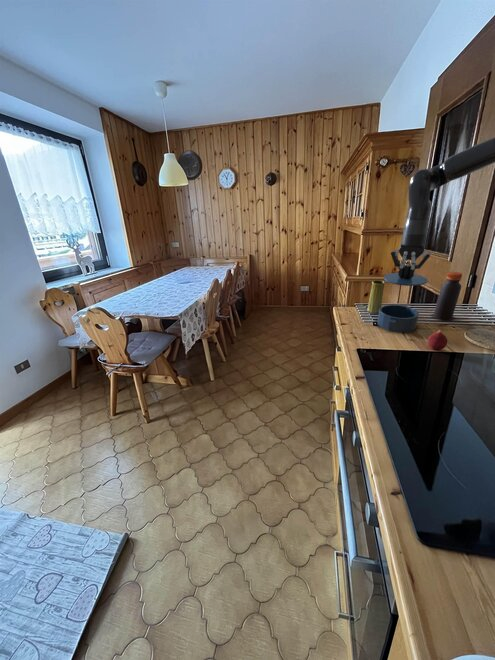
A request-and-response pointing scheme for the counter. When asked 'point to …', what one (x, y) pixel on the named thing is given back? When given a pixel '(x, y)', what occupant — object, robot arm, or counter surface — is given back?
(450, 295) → the bottle
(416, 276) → the lid
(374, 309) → the vase
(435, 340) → the onion
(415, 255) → the robot arm
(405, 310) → the pot
